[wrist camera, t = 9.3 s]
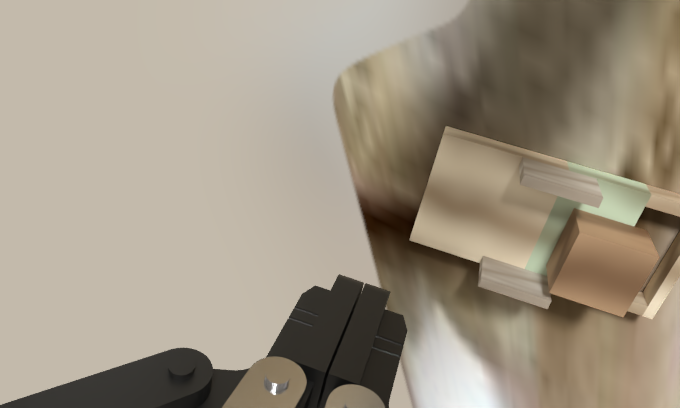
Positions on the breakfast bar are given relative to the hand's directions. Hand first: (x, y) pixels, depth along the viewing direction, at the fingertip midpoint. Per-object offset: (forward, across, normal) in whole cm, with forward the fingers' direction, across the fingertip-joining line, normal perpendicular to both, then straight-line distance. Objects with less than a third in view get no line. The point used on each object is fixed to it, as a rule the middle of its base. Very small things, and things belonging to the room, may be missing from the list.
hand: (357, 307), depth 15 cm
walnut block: (+29, -14, +11) cm, 34 cm away
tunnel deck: (+31, -11, +10) cm, 34 cm away
